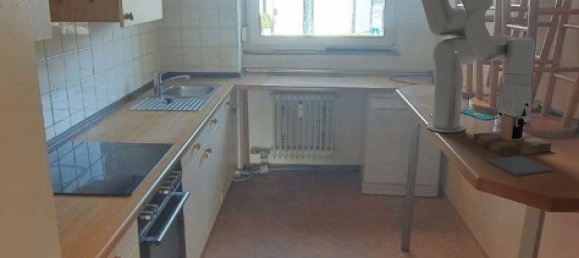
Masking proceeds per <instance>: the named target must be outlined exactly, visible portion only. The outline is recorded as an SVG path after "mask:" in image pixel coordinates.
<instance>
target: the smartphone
mask: <svg viewBox="0 0 579 258" xmlns="http://www.w3.org/2000/svg"><path fill="white" fill-rule="evenodd" d="M461 114H463V115H465V116H469V117H471V118H475V117H476V118H475V119H477V118H479V119H478V120H480V119H482V120H481V121H484V120H485V121H490V120H489V119H493V117H491V116H489V115H490V114H489V115H484V114H481V113H475V112H474V111H473V110H471V108H470V109H461ZM493 120H494V119H493Z"/></svg>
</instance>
